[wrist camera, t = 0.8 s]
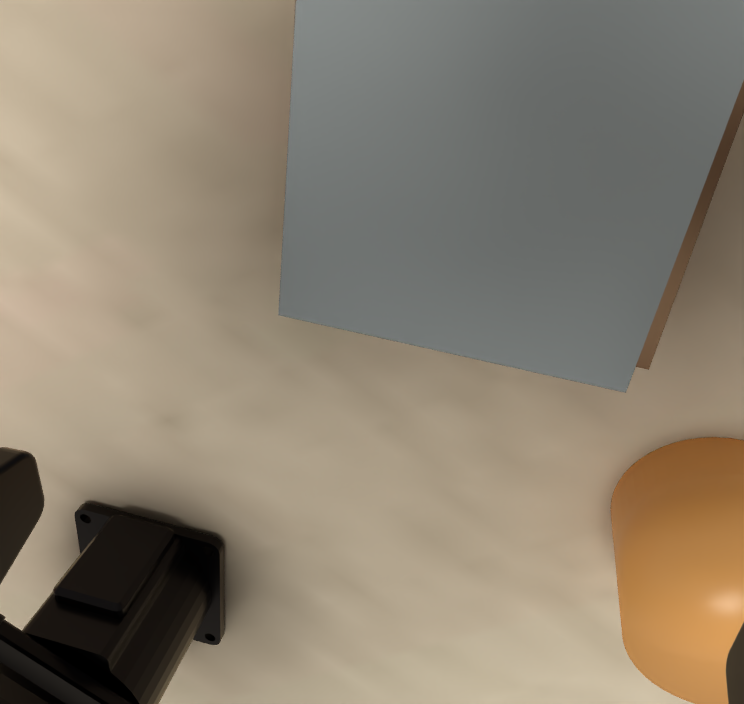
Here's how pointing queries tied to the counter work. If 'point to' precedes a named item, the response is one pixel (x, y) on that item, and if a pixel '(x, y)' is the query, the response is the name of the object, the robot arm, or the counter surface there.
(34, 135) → the counter surface
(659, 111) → the block
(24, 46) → the counter surface
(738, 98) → the tower base
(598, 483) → the counter surface
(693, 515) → the orange cylinder
